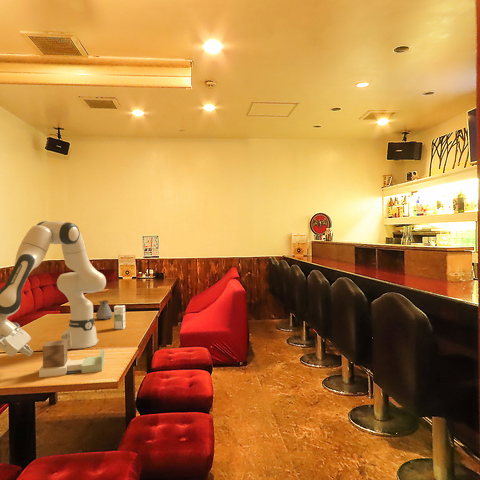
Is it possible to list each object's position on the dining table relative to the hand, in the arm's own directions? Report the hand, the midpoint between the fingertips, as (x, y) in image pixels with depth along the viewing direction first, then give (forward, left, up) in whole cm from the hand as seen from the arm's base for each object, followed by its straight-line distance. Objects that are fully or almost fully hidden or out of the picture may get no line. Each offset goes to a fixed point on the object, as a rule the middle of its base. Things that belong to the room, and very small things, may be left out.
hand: (31, 354), depth 155 cm
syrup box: (-37, +72, -8) cm, 81 cm away
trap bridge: (+10, +13, -8) cm, 18 cm away
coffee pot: (-68, +82, -8) cm, 106 cm away
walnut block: (+6, +7, -5) cm, 10 cm away
